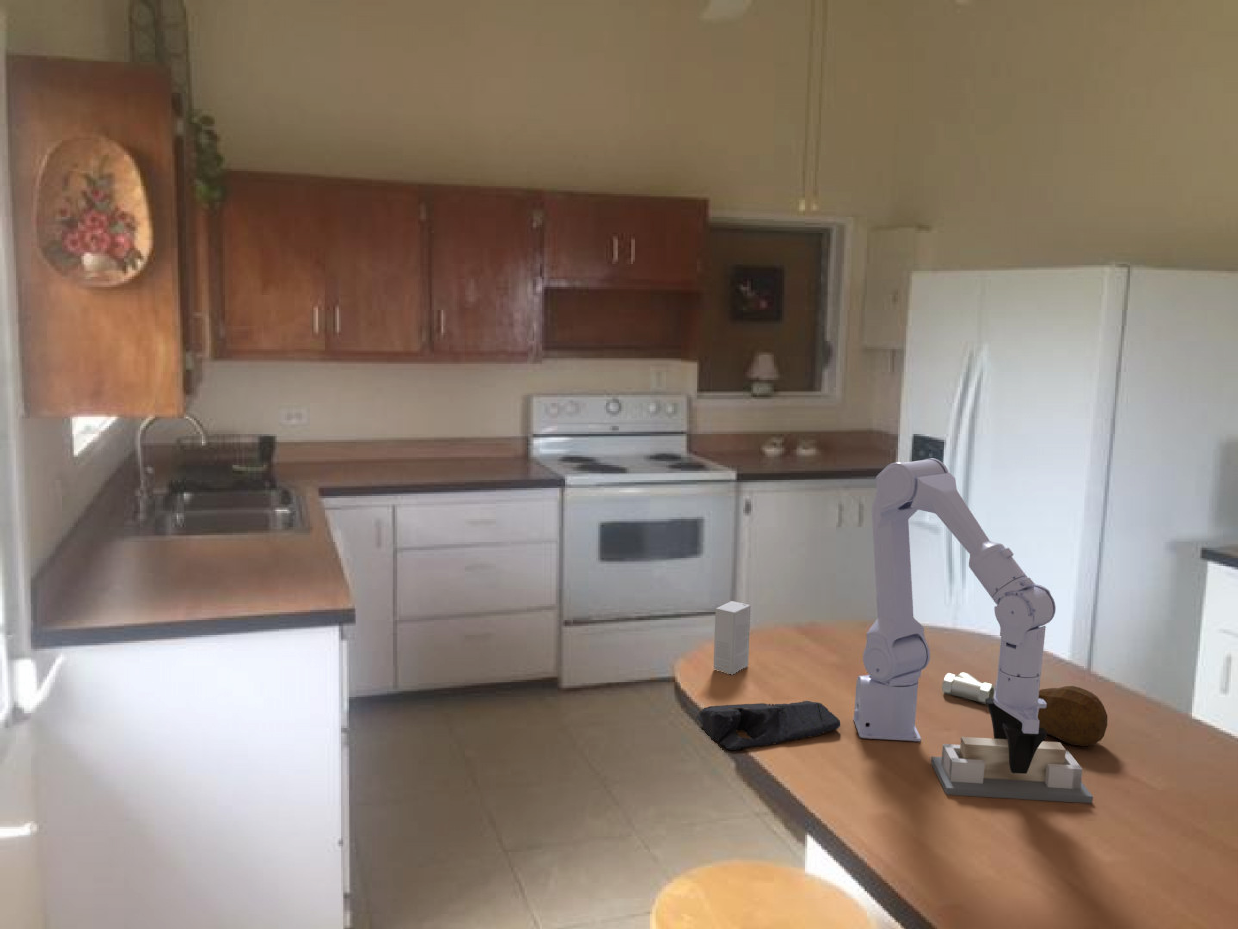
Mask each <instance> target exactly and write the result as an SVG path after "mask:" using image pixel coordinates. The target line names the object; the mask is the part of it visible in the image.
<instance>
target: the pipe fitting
mask: <svg viewBox="0 0 1238 929" xmlns="http://www.w3.org/2000/svg"><path fill="white" fill-rule="evenodd" d="M941 690H942V693H943V694H945V695H948V696H956V697H960V698H963V699H967V700H970V701H974V702H978V703H979V704H982V705H986V706H987V704H986V702H985V699H987V698H994V695H995V685H994V684H992V683H988V682H986V681H985V682H981V681H979V679H977V678H975V677H974V676H973V675H971V674H970V673H968V672H960V673H958V674H953V673H951V672H948V673H946V674H945V676H944V678H943V680H942V686H941Z"/></svg>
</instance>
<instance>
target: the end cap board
mask: <svg viewBox="0 0 1238 929" xmlns="http://www.w3.org/2000/svg"><path fill="white" fill-rule="evenodd" d="M941 750H942V751H941V756H931V757H930V760H931V761H930V764H931V766H932V768H933V770H934V772H935V774H936V777H937V778H938V780H939V783H940V784H941V788H942V789H943V791H944V793H945V795H947V796H948V795H949V796H965V797H981V798H999V799H1014V800H1015V799H1017V800H1030V801H1031V800H1034V801H1047V802H1048V801H1050V802H1051V801H1052V802H1064V803H1066V802H1067V803H1083V804H1084V803H1085V804H1093V799H1094V795H1092V793H1091V792H1090V791H1089V789H1088V788H1087V786H1086V785H1085V784H1084V782H1083V780H1082V778H1083V768H1082V766H1081V765H1080V764H1079V763H1078V762H1077V760H1076V759H1075V758H1074V757H1073V755H1072V754H1071V753H1070V751H1069V750H1066V753H1065V762H1064V765H1062V764H1047V769H1046V779H1045V782H1042V781H1025V780H1008V779H991V778H983V776H984V766H985V763H984V762H983V760H975V759H959V756H960V744H951V743H949V744H948V743H943V744H942V749H941Z"/></svg>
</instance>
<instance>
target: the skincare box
mask: <svg viewBox="0 0 1238 929" xmlns="http://www.w3.org/2000/svg"><path fill="white" fill-rule="evenodd" d="M714 618H715V619H714V620H715V621H714V643H713V644H714V646H713V648H714V649H713V670H714V669H716V670H719V671H723V672H725V673H728V674H727V675H729V674H731V675H730V676H733V674H734V675H735V674H737V673H739V672H740V671H742V670H744V669H745V668H747V667H748V666H749V654H750V653H749V652H750V627H751V604H746V603H743V602H738V601H734V600H730V601H729V602H727V603H724V604H723V605H720V606H718V607H716V608H715V617H714ZM743 668H744V669H743ZM741 669H742V670H741ZM739 670H740V671H739ZM738 671H739V672H738ZM736 672H737V673H736ZM725 673H724V674H725Z"/></svg>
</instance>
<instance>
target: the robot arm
mask: <svg viewBox="0 0 1238 929" xmlns="http://www.w3.org/2000/svg"><path fill="white" fill-rule="evenodd" d="M875 482H876V493H875V497H874V500H873V503H872V507H871V519H872V534H873V535H872V538H873V539H872V540H873V556H874V572H875V573H874V574H875V589H876V592H875V594H876V611H877V618H876V620H875V621H874V622H873V624H872V625H871V627H869V629H868V630H867V632H866V643H865V647H864V650H863V654H862V662H863V666H864V669H865V670H866V672H867V673H868V674H866V675H858V676H857V678H856V683H855V696H854V712H853V718H852V719H853V721H854V724H855V727H856V730H857V733H858V736H859V738H861V739H874V740H890V741H908V742H909V741H910V742H921V741H922V737H921V735H920V733H919V731H918V729H917V726H916V715H917V714H916V713H917V705H918V704H917V700H918V689H919V678H922V677H921V676H922V671H923V670H925V669H926V668H927V667H928V665H929V663H930V661H931V650H930V647H929V644H928V642H927V640H926V637H925V628H924V626H923V625H922V624H921V623H920V622H919V621H918V620H916V618H915V616H914V604H913V603H914V601H913V600H914V599H913V585H912V584H913V582H912V565H911V547H910V546H911V545H910V544H911V542H910V526H909V524H910V523H909V520H910V519H911V517H912V516H913V515H915V513H916V512H918V511H923V512H926V513H927V512H928V513H931V514H935V516H937V517H938V518H939V519H940V520H941V522H942V523H943V524H944V525H945V527H947V529H948V530H949V531H950V533H951V534H952V535H953V536H954V538H955V539H956V540H957V541H958V542H959V543H960V544H961V546H962V547H963V548H964V549H965V550H966V552H967V553H968V554H969V560H968V567H969V569H970V571H971V572H972V573H973V574H974V576H975V577H976V579H978V581H979V582H980V584H981V586H982V587H983V588H984V589H985V591H986V592H987V594H988V595H989V596H990V597H991V598H990V599H992V600H993V602H994V603H995V606H994V609H993V610H994V616H995V618H996V621H997V622H998V624H999V628H1000V630H999V636H1000V644H999V655H998V665H997V677H996V681H995V685H994V687H995V695H994V698H987V699H985V702H986V704H987V705H986V704H985V705H986V706H987V709H988V711H989V714H990V719H991V725H992V732H993V739H1007V741H1008V748H1009V765H1010V770H1011V772H1012V773H1020V774H1027V771H1028V769H1029V767H1030V764H1031V761H1032V759H1033V756H1034V754H1035V752H1036V750H1037V748H1038V747H1039V745H1040V744H1041V743H1042V741H1045V740H1046V738H1047V735H1048V734H1047V732H1046V730H1045V729H1044V728H1039V722H1040V721H1039V720H1038V712H1039V709H1040V708H1046V705H1047V703H1046V702H1045V701H1044V700H1043V699H1040V698H1039V690H1040V686H1041V676H1042V666H1043V657H1044V647H1045V637H1046V628H1047V626H1046V625H1047V624H1049V623H1050V622H1051V621H1052V620H1053V619H1054V617H1055V614H1056V607H1057V606H1056V603H1055V599H1054V598H1053V596H1052V594H1051V591H1050V590H1049V589H1048V588H1046V587H1045V586H1043V585H1041V584H1036V583H1034V581H1033V580H1032V578H1030V577H1028V576H1027V574H1026V572H1024V570H1022V568H1021V567H1020V565H1019V564H1018V562H1017V561H1016V560H1015V559H1014V557H1013V556H1014V553H1013V552H1012V550H1011V549H1010V548H1009V547H1005V545H1004V544H1002V543H999V542H994V541H992V540H990V539H989V537H988V535H987V534H986V533H985V531H984V530H983V529H982V526H981V525H980V524H979V522H978V520H977V519H976V517H975V516H974V514H973V513H972V511H971V510H970V508H969V507H968V505H967V504H966V501H965V500H964V499H963V497H962V496H961V494H960V493H959V491H958V488H957V481H956V478H955V477H954V475H953V474H951V473H950V472H949V470H948V468H947V466H946V465H945V463H943V462H942V461H941V460H940V459H938V458H937V459H936V458H935V457H934V458H933V457H930V458H925V459H922V460H914V461H907V462H891V463H890V464H888V465H887V466H886V467H884V469H882V470H881V472H879V473H878V474H877V475H876V476H875Z"/></svg>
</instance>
